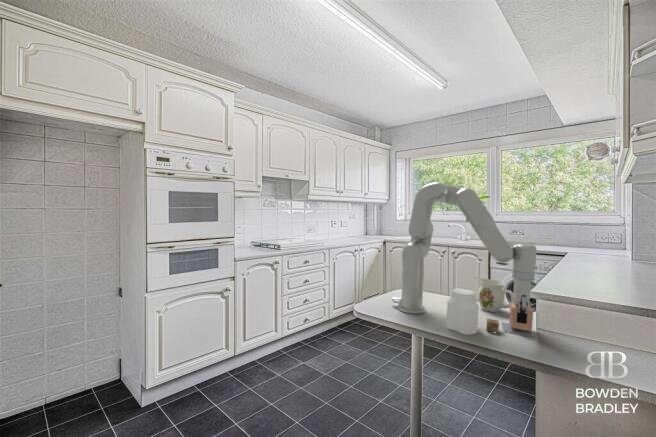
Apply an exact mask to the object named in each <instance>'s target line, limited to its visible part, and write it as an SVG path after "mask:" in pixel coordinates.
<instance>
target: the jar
mask: <svg viewBox="0 0 656 437" xmlns="http://www.w3.org/2000/svg"><path fill="white" fill-rule="evenodd" d="M446 306H447V308H446V309H447V310H446V321H445V327H446V328H447V329H448V330H450V331H454V332H457V333H460V334H462V335H475V334H477V333H478V331H479V330H478V323H479V308H480V304H478V302H477V300H476V292H475V291H472V290H470V289H468V288H467V289H466V288H454V289H452V292H451V296H450V297H449V299H448V300H447V303H446Z"/></svg>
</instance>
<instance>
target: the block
mask: <svg viewBox="0 0 656 437" xmlns="http://www.w3.org/2000/svg"><path fill="white" fill-rule="evenodd" d="M499 326H500V322H499V320H498V319H492V318H491V319H490V318H486V327H487V329H486V332H487V331H489V332H488V333H491V332H496V333H495V334H497V333H498V334H499Z"/></svg>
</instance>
